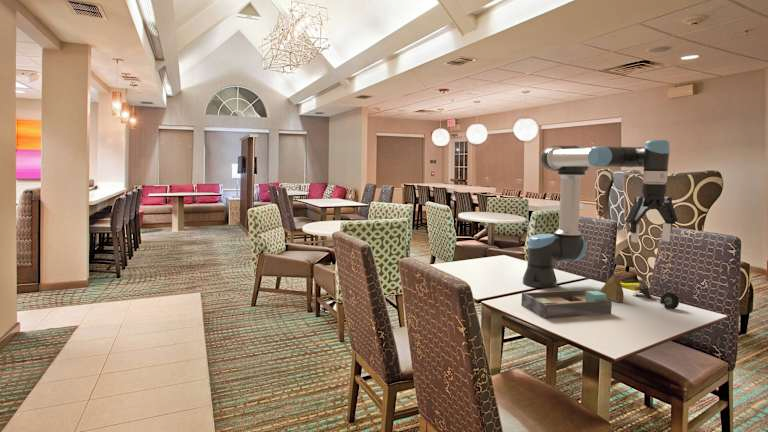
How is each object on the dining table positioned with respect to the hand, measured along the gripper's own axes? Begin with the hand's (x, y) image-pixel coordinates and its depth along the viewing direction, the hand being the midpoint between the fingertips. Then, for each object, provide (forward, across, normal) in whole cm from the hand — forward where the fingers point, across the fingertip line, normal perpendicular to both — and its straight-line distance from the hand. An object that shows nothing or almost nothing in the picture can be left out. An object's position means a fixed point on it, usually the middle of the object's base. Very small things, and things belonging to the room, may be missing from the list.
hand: (650, 241), depth 164 cm
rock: (+28, +3, +21) cm, 35 cm away
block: (+25, -15, +9) cm, 30 cm away
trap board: (+28, -25, +12) cm, 39 cm away
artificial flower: (+28, +18, +16) cm, 37 cm away
